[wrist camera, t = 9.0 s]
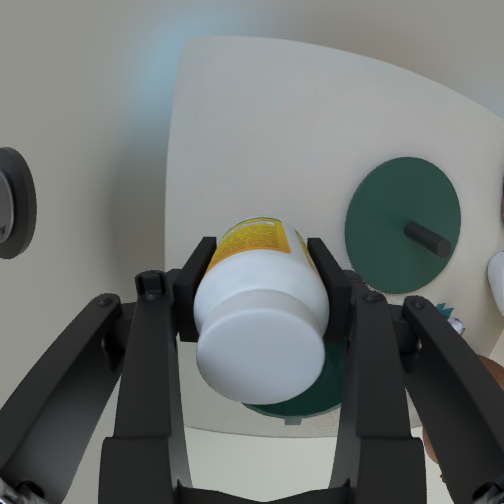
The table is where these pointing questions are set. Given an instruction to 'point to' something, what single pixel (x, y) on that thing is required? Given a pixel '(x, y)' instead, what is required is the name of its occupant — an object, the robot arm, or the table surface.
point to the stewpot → (313, 391)
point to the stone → (503, 206)
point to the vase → (497, 279)
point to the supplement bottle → (261, 314)
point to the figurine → (453, 321)
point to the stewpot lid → (402, 225)
